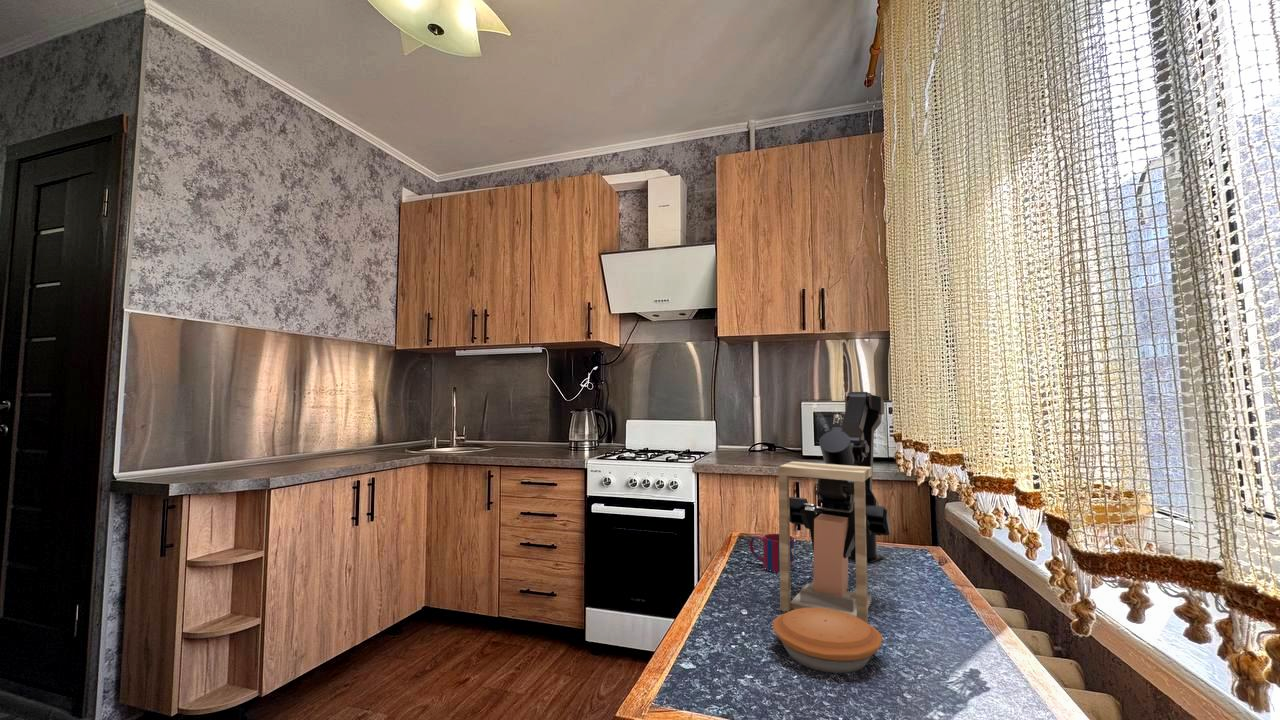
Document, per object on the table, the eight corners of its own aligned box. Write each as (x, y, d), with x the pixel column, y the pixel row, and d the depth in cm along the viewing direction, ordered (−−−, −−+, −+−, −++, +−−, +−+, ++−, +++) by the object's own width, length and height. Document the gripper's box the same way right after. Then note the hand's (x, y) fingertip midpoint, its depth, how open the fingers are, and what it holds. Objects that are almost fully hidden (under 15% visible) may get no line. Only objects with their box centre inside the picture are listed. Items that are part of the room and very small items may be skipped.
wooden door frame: (801, 587, 109) (799, 458, 111) (879, 601, 102) (876, 463, 103) (780, 610, 98) (778, 466, 99) (866, 628, 90) (863, 472, 92)
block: (820, 582, 104) (821, 513, 105) (847, 588, 102) (848, 517, 102) (813, 590, 100) (814, 518, 101) (841, 596, 97) (842, 523, 98)
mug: (786, 575, 117) (786, 543, 117) (744, 566, 123) (744, 535, 123) (799, 567, 122) (799, 536, 122) (758, 559, 128) (758, 529, 129)
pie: (786, 625, 92) (785, 594, 92) (886, 645, 85) (886, 612, 85) (760, 664, 78) (759, 629, 79) (877, 693, 71) (876, 653, 71)
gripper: (786, 456, 110) (769, 522, 100) (886, 462, 101) (878, 537, 91) (797, 489, 117) (782, 555, 107) (893, 498, 107) (886, 572, 97)
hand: (829, 554), depth 100 cm, fingers closed on block, 5 cm apart
